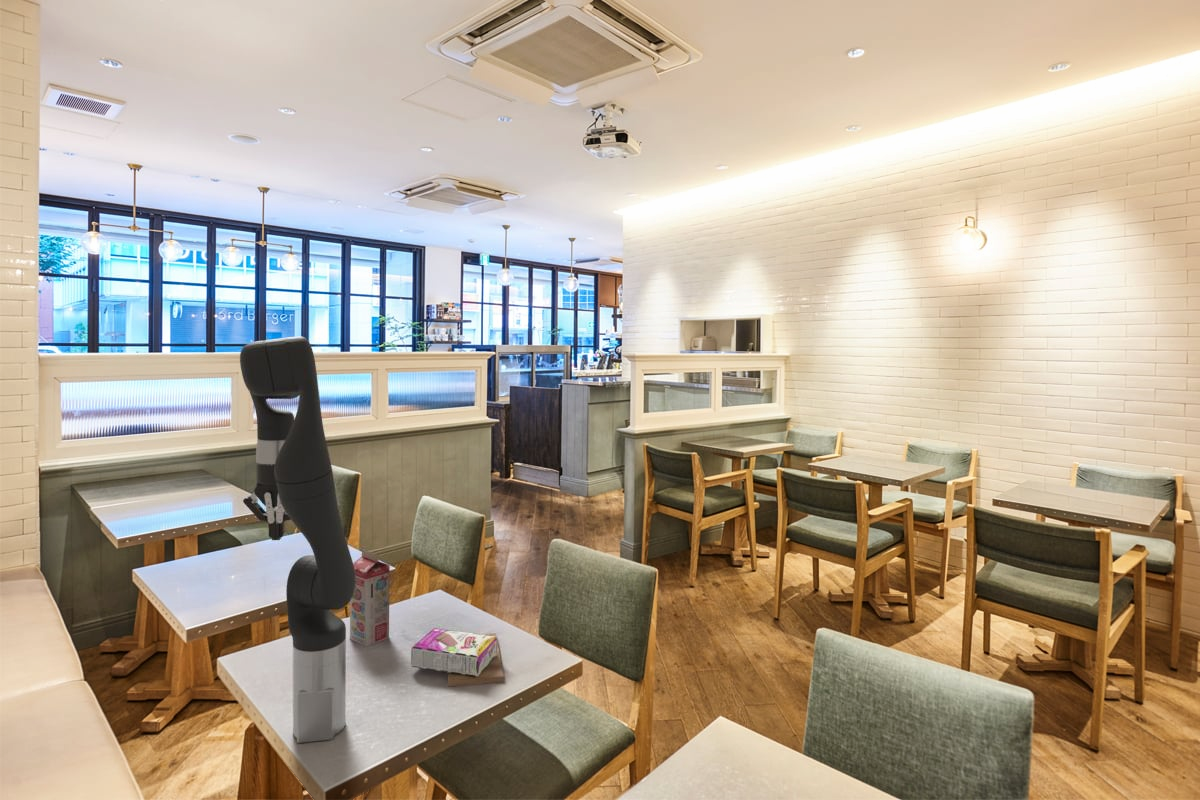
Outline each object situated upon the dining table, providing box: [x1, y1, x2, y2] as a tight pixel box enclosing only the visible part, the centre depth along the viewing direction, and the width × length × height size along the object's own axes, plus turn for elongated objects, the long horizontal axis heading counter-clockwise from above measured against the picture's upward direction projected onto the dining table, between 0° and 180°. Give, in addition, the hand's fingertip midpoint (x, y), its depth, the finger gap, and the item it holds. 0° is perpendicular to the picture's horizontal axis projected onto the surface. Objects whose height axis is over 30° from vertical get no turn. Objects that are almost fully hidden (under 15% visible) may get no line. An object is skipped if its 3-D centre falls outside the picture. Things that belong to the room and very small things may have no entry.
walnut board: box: [447, 632, 505, 687], centre depth 151 cm, size 22×12×1 cm, turn 14°
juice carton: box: [349, 549, 391, 648], centre depth 160 cm, size 7×7×22 cm
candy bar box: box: [410, 627, 498, 677], centre depth 148 cm, size 11×5×16 cm
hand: (276, 539), depth 137 cm, fingers closed
